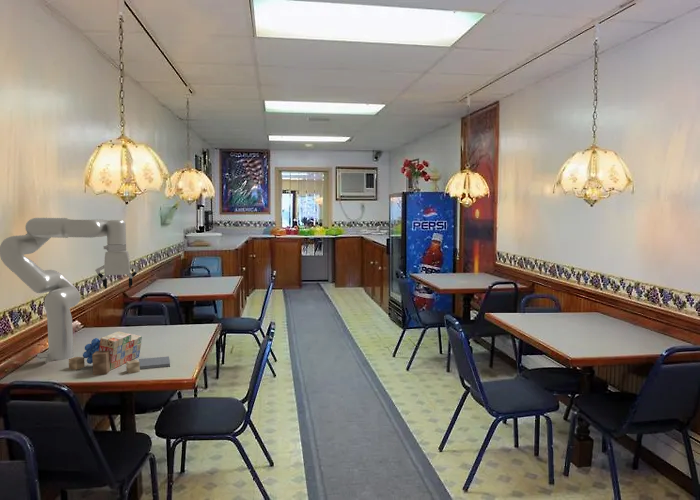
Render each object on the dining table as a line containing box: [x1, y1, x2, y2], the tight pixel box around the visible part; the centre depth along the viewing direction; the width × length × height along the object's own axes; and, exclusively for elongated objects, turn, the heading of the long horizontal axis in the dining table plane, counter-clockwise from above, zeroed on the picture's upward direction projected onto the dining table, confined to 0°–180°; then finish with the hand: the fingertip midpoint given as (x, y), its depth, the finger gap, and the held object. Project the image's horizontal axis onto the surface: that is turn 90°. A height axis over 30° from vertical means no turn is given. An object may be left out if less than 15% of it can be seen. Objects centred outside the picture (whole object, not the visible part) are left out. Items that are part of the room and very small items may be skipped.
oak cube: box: [68, 356, 86, 371], centre depth 220 cm, size 4×4×4 cm
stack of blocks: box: [99, 330, 143, 371], centre depth 226 cm, size 21×6×12 cm, turn 171°
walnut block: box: [92, 351, 111, 376], centre depth 213 cm, size 5×5×8 cm
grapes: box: [82, 337, 101, 364], centre depth 224 cm, size 12×7×12 cm, turn 109°
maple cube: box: [125, 359, 141, 374], centre depth 215 cm, size 4×4×4 cm
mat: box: [138, 355, 171, 370], centre depth 225 cm, size 12×12×1 cm
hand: (118, 287), depth 235 cm, fingers open, 9 cm apart
